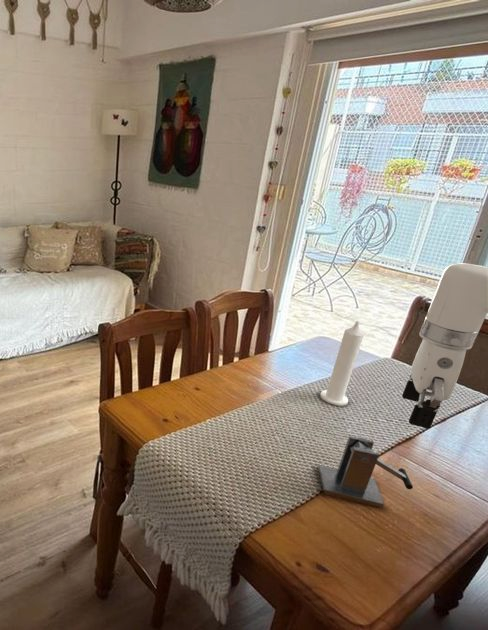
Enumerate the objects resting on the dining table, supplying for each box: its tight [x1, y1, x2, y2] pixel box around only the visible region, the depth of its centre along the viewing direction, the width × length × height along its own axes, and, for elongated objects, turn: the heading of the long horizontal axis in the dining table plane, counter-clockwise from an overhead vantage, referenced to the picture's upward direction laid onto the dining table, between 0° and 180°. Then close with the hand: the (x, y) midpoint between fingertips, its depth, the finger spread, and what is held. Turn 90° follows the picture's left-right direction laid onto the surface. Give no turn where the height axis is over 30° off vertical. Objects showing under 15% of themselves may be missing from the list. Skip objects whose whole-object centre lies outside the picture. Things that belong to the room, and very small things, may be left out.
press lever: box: [350, 441, 414, 490], centre depth 92 cm, size 12×5×2 cm, turn 71°
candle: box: [319, 320, 365, 407], centre depth 123 cm, size 7×7×25 cm
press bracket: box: [317, 435, 385, 509], centre depth 94 cm, size 11×8×12 cm
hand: (414, 411), depth 85 cm, fingers open, 9 cm apart
